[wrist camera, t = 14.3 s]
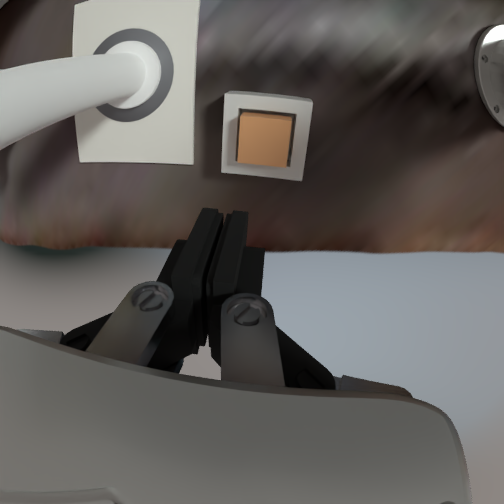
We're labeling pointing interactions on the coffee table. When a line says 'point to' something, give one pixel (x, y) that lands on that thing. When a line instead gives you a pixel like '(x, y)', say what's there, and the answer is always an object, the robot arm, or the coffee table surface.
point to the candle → (74, 87)
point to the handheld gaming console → (2, 2)
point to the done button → (264, 139)
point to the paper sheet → (166, 95)
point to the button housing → (270, 105)
